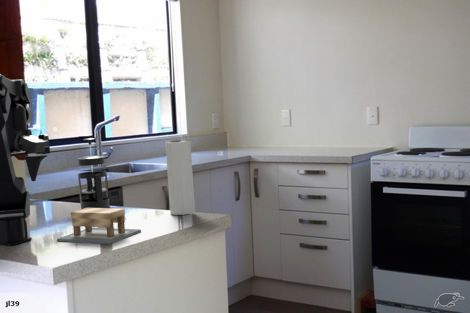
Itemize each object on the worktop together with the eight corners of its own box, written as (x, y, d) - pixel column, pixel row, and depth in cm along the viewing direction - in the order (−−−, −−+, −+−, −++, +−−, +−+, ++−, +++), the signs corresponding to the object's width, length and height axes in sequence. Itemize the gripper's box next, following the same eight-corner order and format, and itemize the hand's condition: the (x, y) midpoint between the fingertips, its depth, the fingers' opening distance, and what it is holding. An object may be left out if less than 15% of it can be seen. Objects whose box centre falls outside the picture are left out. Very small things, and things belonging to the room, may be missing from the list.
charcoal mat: (109, 244, 138) (109, 241, 138) (57, 241, 145) (56, 238, 145) (141, 231, 150) (140, 229, 150) (91, 229, 157) (91, 227, 157)
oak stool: (72, 235, 148) (70, 212, 147) (88, 230, 153) (86, 207, 152) (111, 237, 142) (109, 213, 142) (126, 232, 148) (124, 208, 147)
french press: (76, 209, 191) (70, 139, 189) (104, 205, 196) (99, 136, 193) (86, 214, 181) (79, 140, 179) (115, 210, 185) (110, 137, 183)
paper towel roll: (167, 213, 174) (162, 141, 172) (187, 210, 176) (182, 139, 175) (175, 217, 168) (170, 142, 166) (195, 214, 170) (190, 140, 168)
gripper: (10, 127, 147) (16, 189, 148) (62, 123, 164) (67, 178, 165) (-21, 129, 152) (-15, 189, 153) (32, 124, 168) (37, 178, 170)
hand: (21, 183), depth 160 cm, fingers open, 9 cm apart
